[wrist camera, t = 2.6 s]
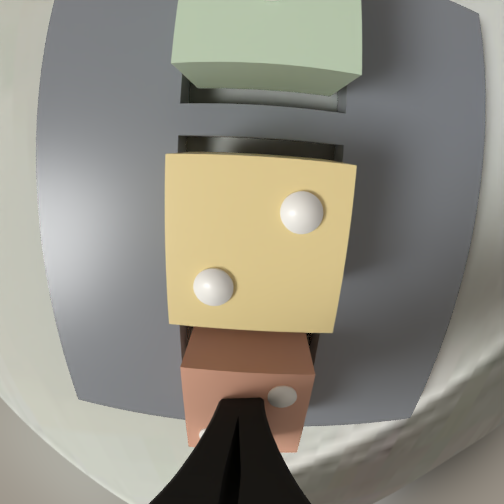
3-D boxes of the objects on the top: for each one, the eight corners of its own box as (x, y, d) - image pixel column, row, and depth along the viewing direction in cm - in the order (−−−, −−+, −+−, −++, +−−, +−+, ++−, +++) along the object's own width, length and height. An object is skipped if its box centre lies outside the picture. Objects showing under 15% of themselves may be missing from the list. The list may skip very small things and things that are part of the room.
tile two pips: (326, 159, 9) (358, 165, 6) (313, 281, 11) (333, 335, 8) (194, 151, 9) (164, 154, 6) (192, 274, 11) (168, 325, 8)
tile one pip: (331, -11, 8) (357, -62, 4) (330, 96, 9) (363, 74, 6) (208, -19, 8) (190, -73, 4) (197, 88, 9) (169, 61, 6)
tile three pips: (302, 321, 12) (316, 376, 9) (290, 397, 13) (297, 454, 10) (197, 315, 12) (179, 369, 9) (200, 392, 13) (188, 448, 10)
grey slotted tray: (463, 21, 8) (478, 13, 7) (402, 402, 14) (410, 418, 13) (71, -3, 8) (57, -12, 7) (87, 384, 14) (78, 399, 13)
